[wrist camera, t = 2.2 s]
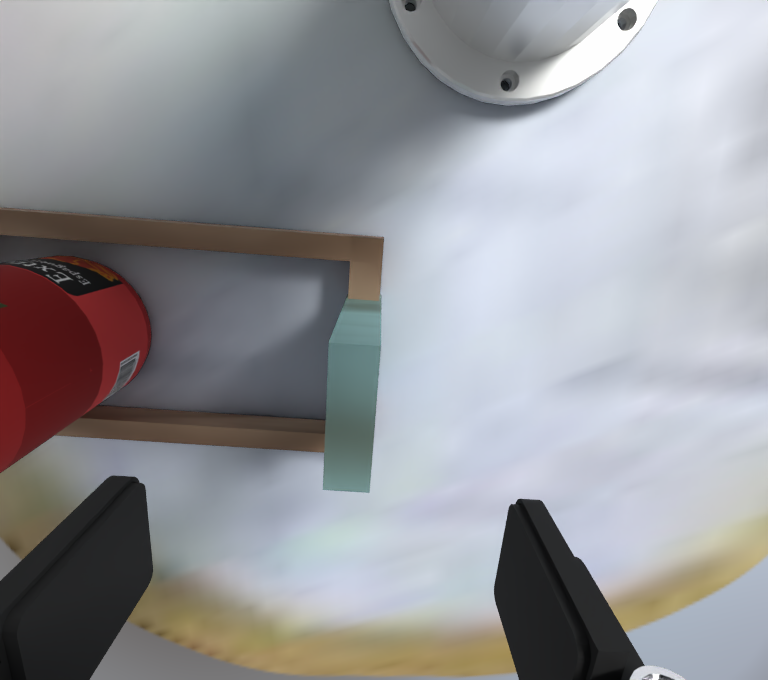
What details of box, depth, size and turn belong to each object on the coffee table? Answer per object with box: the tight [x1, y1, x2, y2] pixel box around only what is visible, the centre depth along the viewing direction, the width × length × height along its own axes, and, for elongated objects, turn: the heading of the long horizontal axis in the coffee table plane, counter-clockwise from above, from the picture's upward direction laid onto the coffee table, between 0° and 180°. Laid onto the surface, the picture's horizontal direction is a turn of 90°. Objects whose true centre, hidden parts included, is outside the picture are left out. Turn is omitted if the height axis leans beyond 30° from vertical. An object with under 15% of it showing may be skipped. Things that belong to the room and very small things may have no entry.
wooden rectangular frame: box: [0, 207, 384, 493], centre depth 19 cm, size 12×23×9 cm, turn 86°
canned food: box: [0, 256, 151, 473], centre depth 19 cm, size 8×8×11 cm
